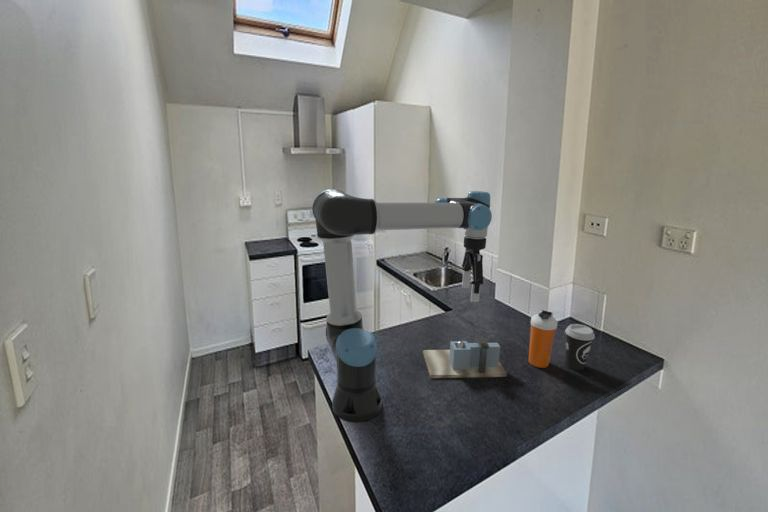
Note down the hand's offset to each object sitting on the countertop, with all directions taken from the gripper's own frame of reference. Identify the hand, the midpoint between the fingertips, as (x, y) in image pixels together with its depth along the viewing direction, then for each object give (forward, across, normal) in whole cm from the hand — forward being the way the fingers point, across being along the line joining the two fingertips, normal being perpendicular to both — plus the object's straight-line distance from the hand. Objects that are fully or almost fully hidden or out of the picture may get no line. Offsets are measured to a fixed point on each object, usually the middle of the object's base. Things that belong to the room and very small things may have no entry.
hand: (469, 294), depth 134 cm
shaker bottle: (+26, +2, +28) cm, 38 cm away
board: (+26, +3, -1) cm, 27 cm away
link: (+25, +6, +2) cm, 26 cm away
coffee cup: (+26, +4, +40) cm, 48 cm away
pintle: (+26, +6, -3) cm, 27 cm away
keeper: (+26, +7, +4) cm, 28 cm away
